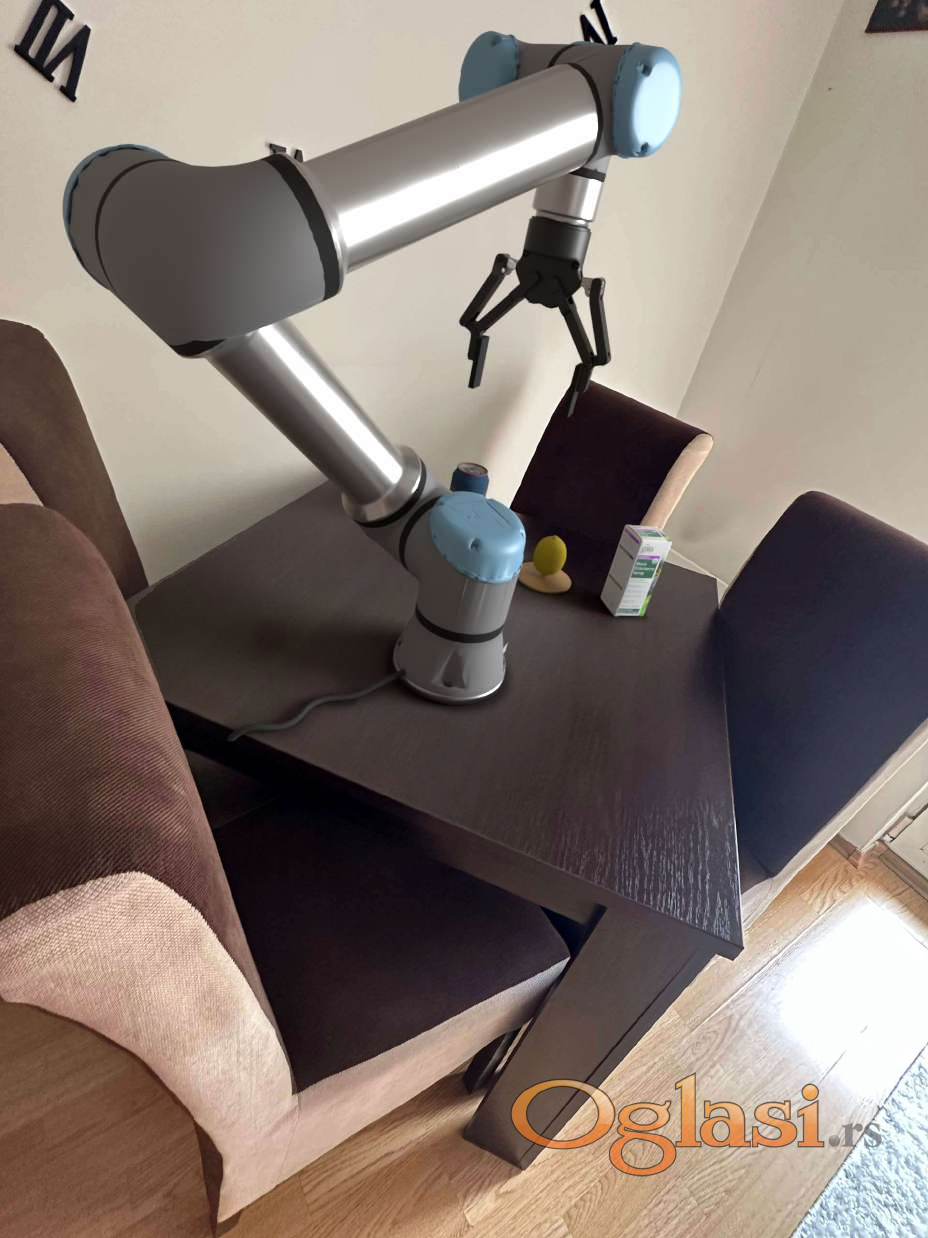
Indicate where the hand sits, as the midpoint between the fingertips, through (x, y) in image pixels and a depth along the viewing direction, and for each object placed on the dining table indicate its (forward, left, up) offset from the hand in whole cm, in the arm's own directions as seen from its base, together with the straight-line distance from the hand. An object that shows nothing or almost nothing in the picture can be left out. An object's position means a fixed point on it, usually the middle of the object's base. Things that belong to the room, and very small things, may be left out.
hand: (519, 400), depth 88 cm
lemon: (+16, -1, -31) cm, 35 cm away
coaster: (+16, -1, -32) cm, 36 cm away
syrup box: (+22, -14, -32) cm, 41 cm away
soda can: (+15, +20, -32) cm, 41 cm away
